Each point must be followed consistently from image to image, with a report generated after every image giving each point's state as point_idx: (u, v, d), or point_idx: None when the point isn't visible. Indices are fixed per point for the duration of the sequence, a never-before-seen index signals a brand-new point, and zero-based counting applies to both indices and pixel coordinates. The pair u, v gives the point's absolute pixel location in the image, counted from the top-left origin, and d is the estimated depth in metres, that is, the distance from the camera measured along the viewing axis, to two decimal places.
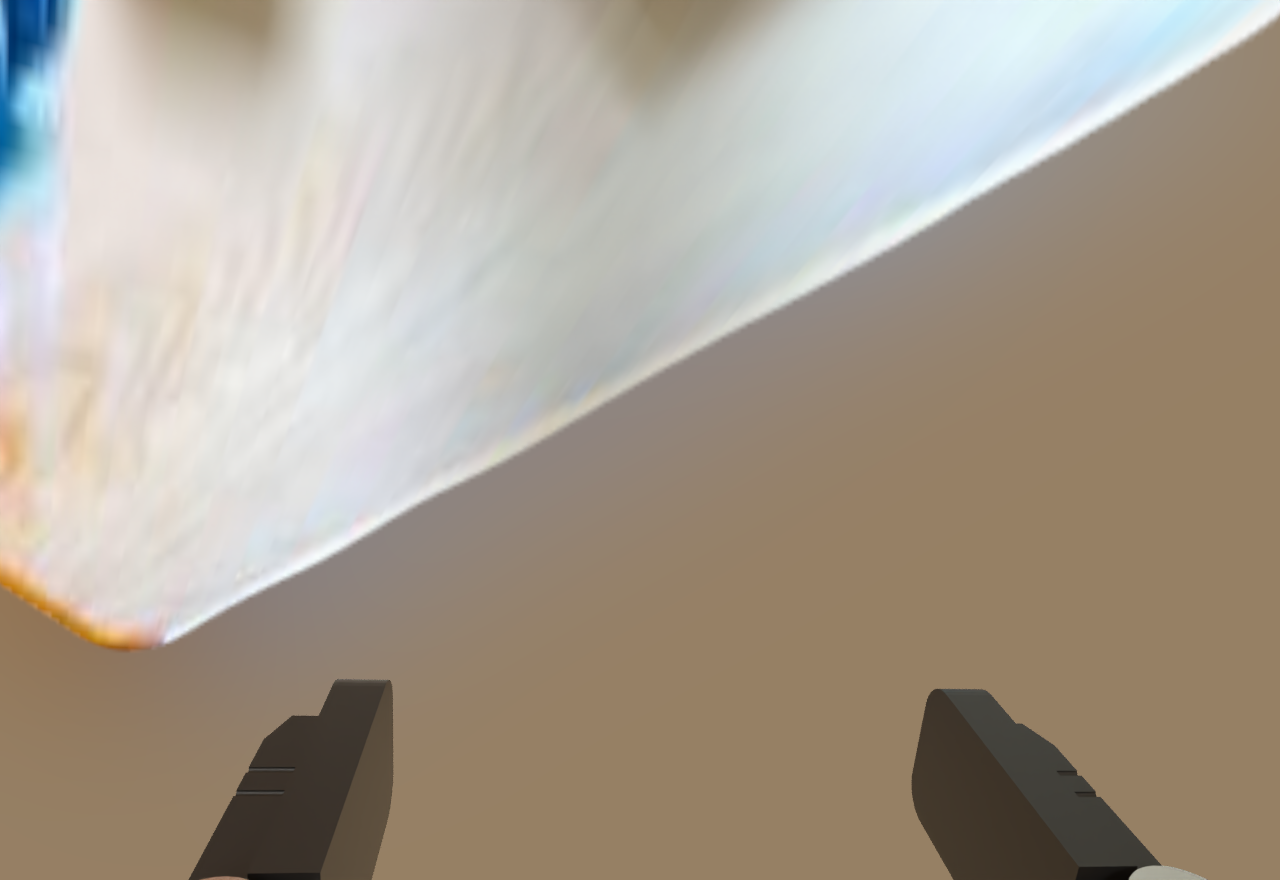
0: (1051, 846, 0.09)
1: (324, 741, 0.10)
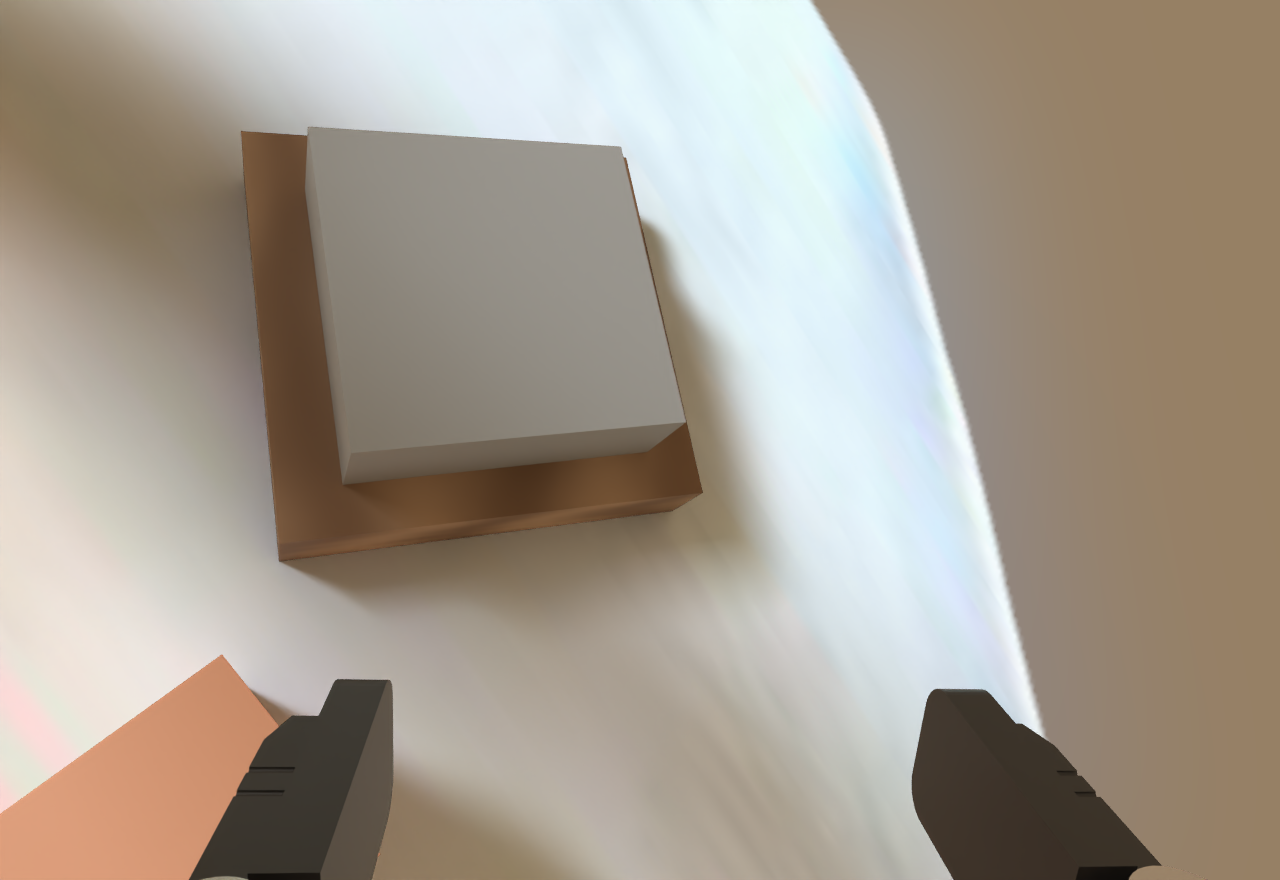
0: (1050, 846, 0.09)
1: (324, 741, 0.10)
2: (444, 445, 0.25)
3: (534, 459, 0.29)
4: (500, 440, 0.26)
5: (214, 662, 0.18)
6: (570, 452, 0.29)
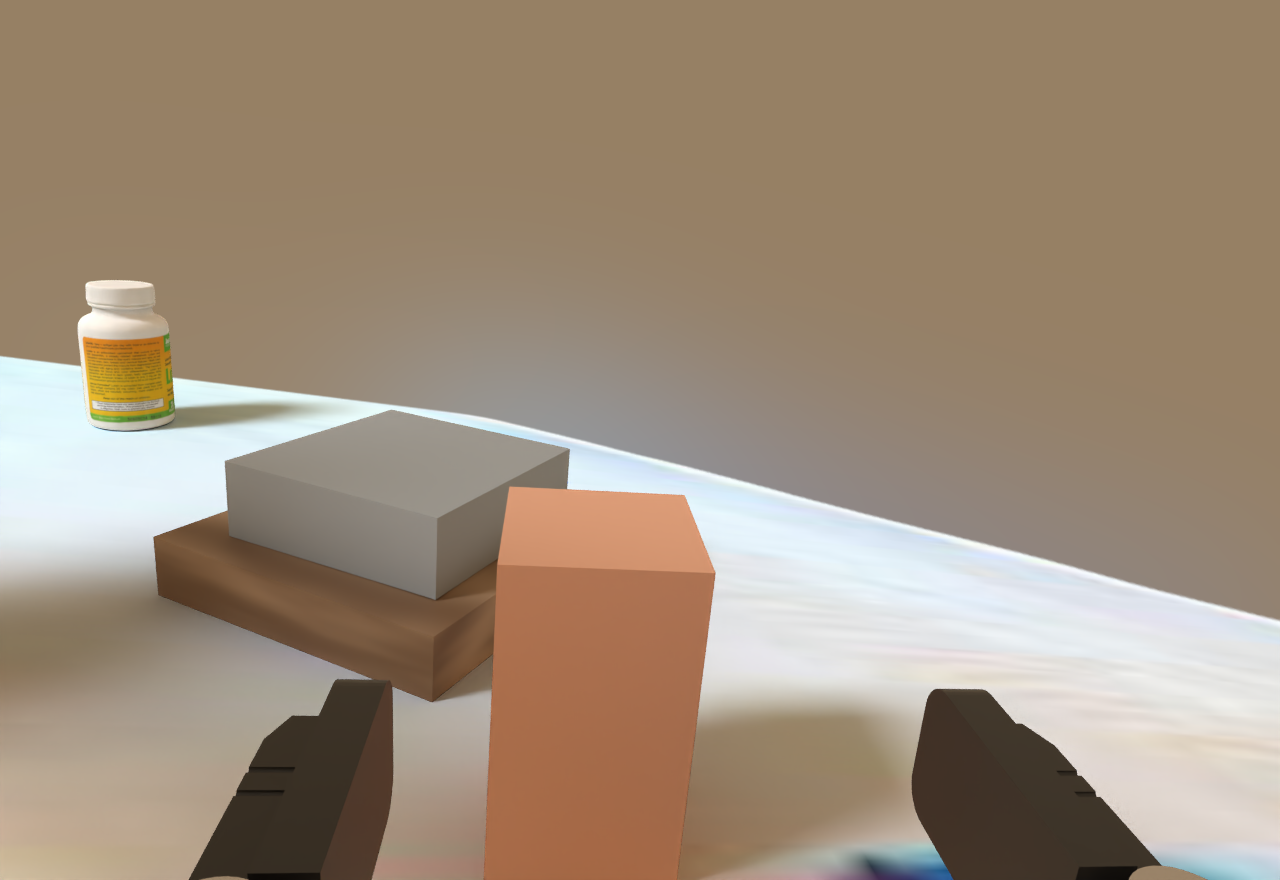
0: (1050, 846, 0.09)
1: (324, 741, 0.10)
2: (476, 500, 0.35)
3: None
4: (499, 487, 0.36)
5: (510, 489, 0.26)
6: None
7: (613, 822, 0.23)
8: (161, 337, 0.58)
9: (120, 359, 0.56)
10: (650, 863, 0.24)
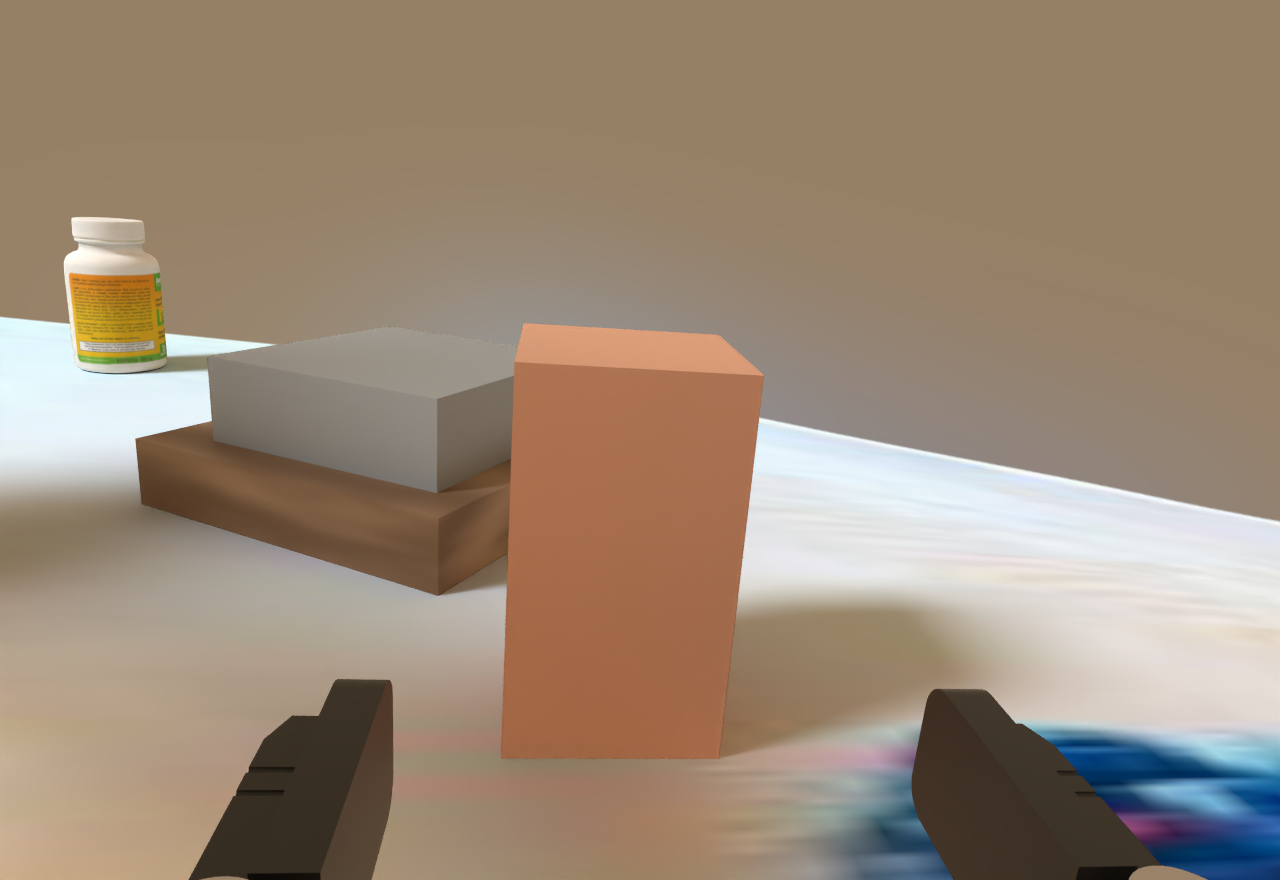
0: (1051, 847, 0.09)
1: (324, 741, 0.10)
2: (480, 388, 0.32)
3: None
4: (505, 380, 0.33)
5: (525, 324, 0.23)
6: None
7: (648, 680, 0.21)
8: (151, 275, 0.55)
9: (108, 296, 0.53)
10: (689, 731, 0.21)
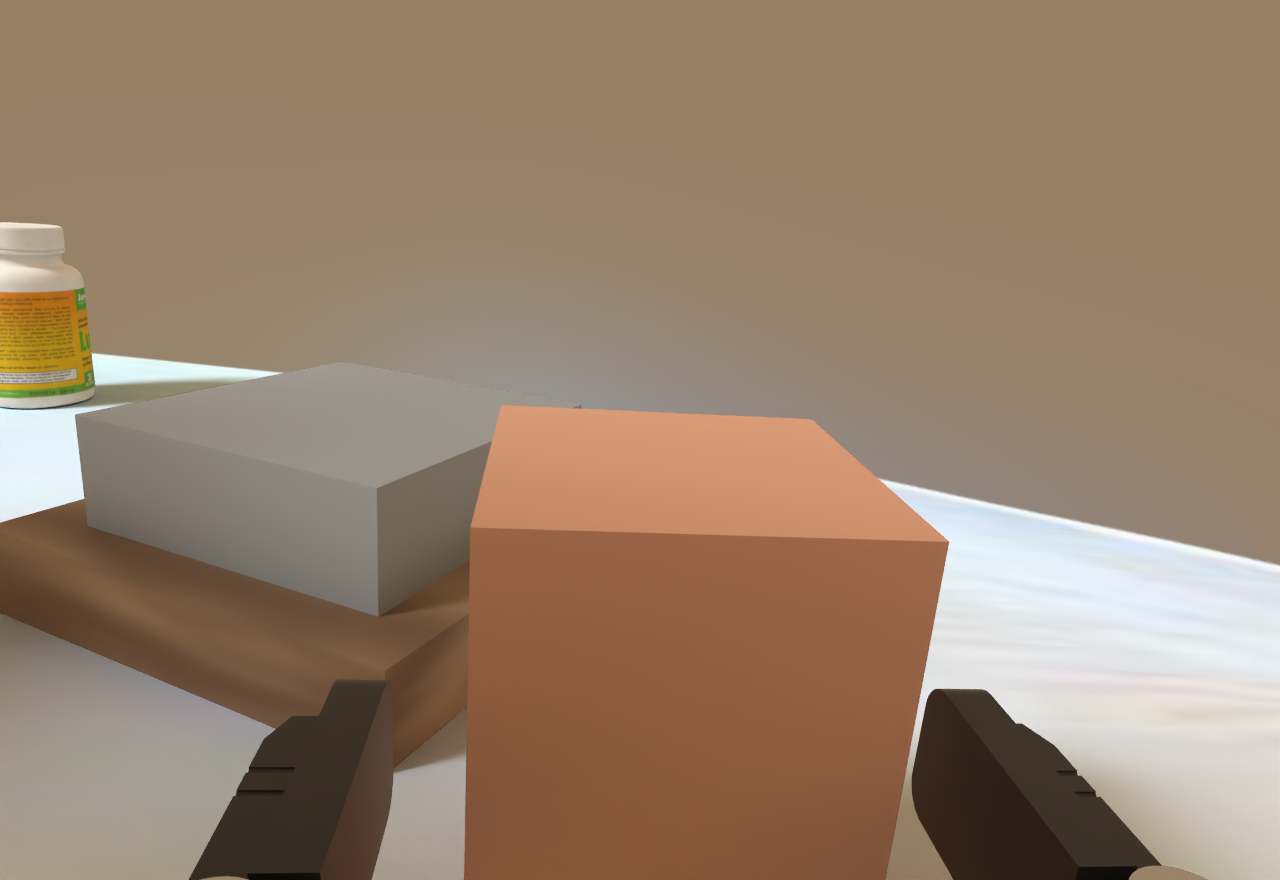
0: (1050, 846, 0.09)
1: (324, 741, 0.10)
2: (443, 464, 0.23)
3: None
4: (479, 449, 0.25)
5: (503, 408, 0.14)
6: None
7: None
8: (72, 292, 0.46)
9: (17, 317, 0.44)
10: None
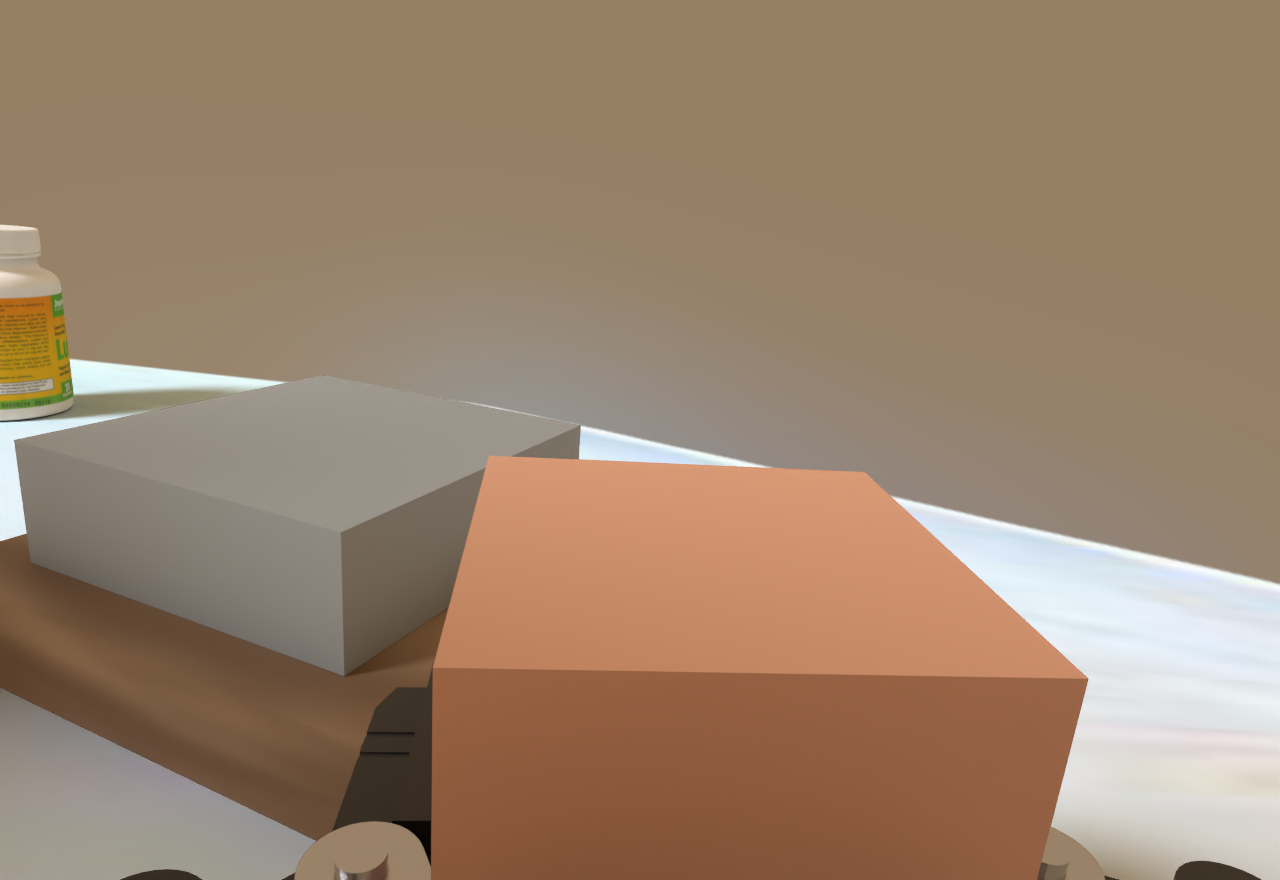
0: None
1: None
2: (421, 500, 0.20)
3: None
4: (463, 481, 0.22)
5: (491, 460, 0.12)
6: None
7: None
8: (48, 298, 0.44)
9: None
10: None
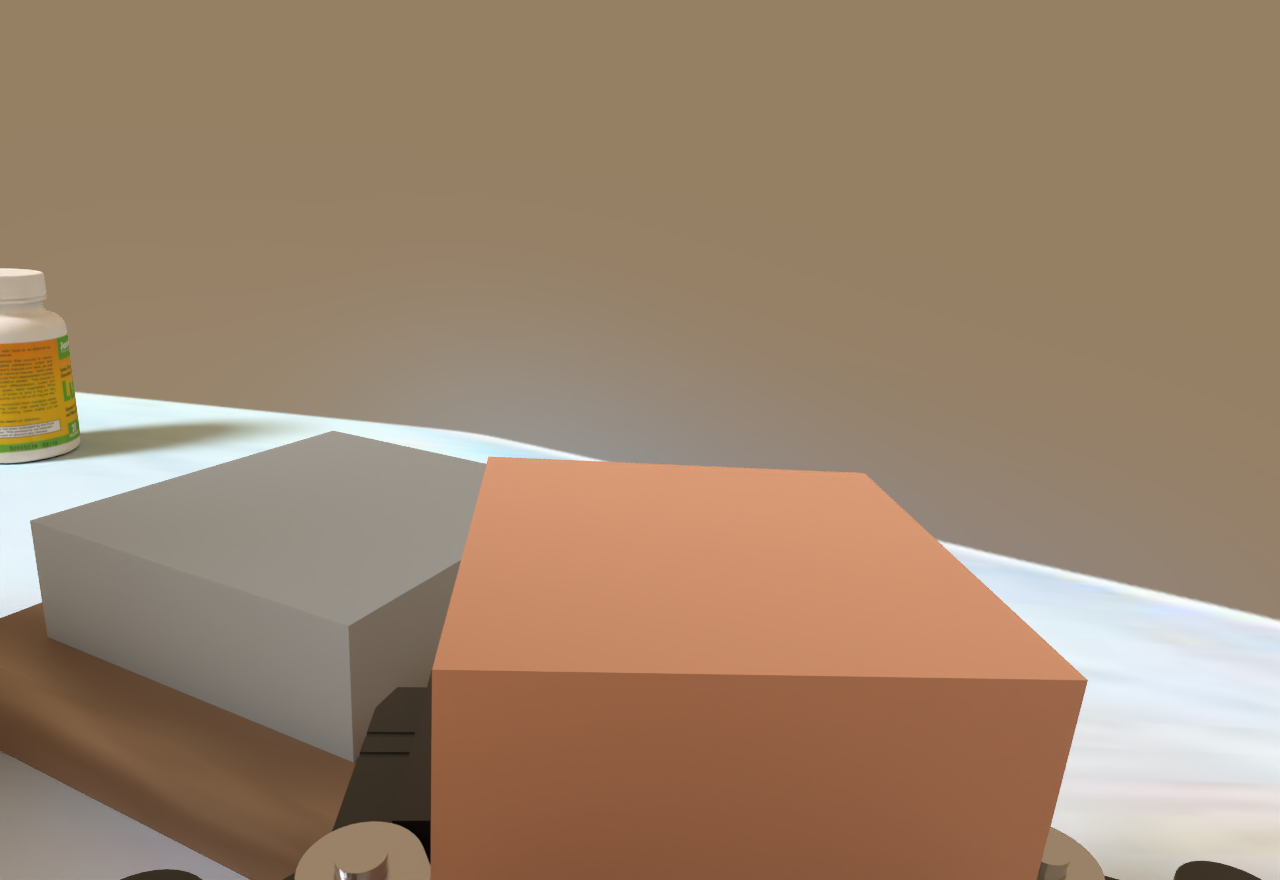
0: None
1: None
2: (427, 583, 0.21)
3: None
4: None
5: (490, 461, 0.12)
6: None
7: None
8: (54, 340, 0.44)
9: None
10: None
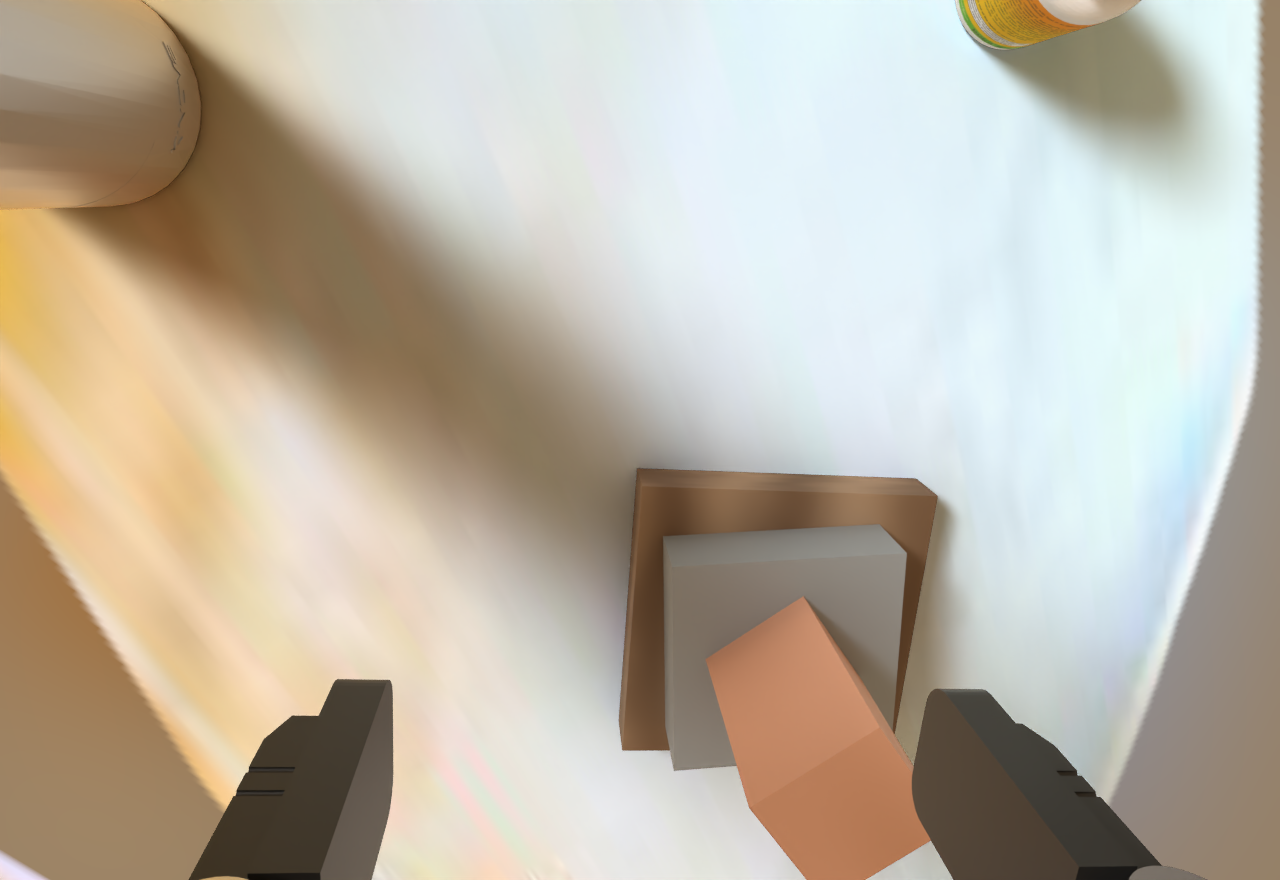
0: (1050, 847, 0.09)
1: (324, 741, 0.10)
2: (727, 764, 0.42)
3: None
4: None
5: (875, 731, 0.30)
6: None
7: None
8: (1098, 23, 0.33)
9: (1020, 7, 0.34)
10: None
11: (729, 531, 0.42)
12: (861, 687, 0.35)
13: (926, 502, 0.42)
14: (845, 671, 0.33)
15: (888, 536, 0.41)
